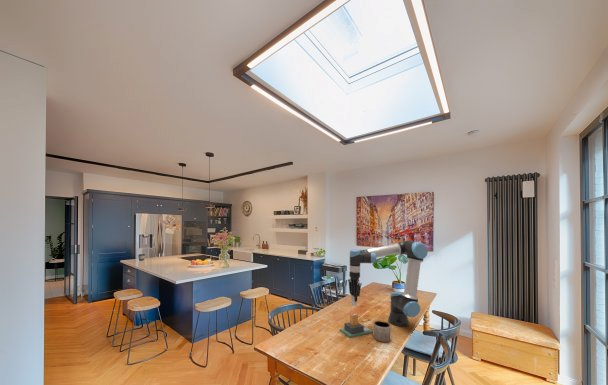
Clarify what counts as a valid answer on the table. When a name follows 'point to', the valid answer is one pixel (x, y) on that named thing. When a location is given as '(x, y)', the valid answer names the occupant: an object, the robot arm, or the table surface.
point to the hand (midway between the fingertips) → (354, 305)
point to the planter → (382, 331)
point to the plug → (353, 320)
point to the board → (355, 330)
